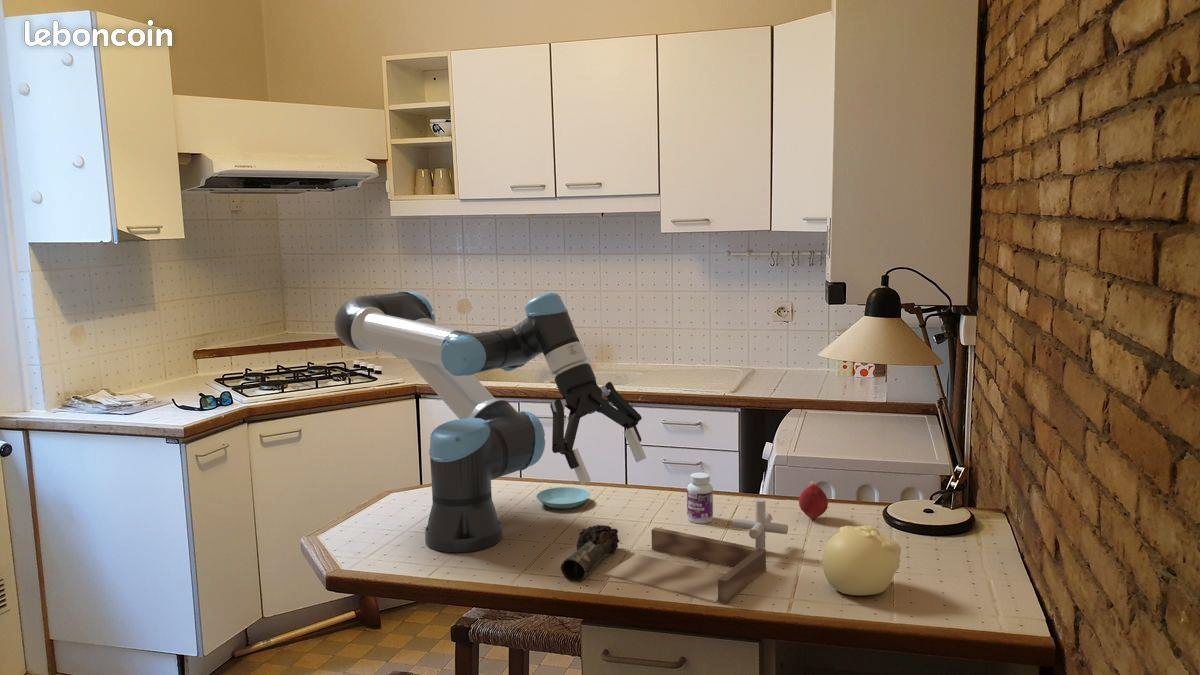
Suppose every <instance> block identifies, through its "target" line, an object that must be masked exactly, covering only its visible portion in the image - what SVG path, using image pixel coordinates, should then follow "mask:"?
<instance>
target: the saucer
mask: <svg viewBox="0 0 1200 675" xmlns="http://www.w3.org/2000/svg"><path fill="white" fill-rule="evenodd" d="M590 496H591V494H590V492H589V491H587V490H586V489H583V488H579V487H571V486H569V487H568V486H565V487H563V486H562V487H561V486H560V487H551V488H547V489H543V490H541V491H539V492H538V493H537V494H536V496H535V497H536V499H537V500H538V501H540V502H541V503H542V504H543V505H545V506H546V507H549V508H551V509H555V508H556V510H569V509H573V507H574V508H576V507H578V506H580V505H582V504H584V502H585V501H587V500H588V499H589V497H590ZM568 508H569V509H568Z"/></svg>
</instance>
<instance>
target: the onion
mask: <svg viewBox="0 0 1200 675" xmlns="http://www.w3.org/2000/svg"><path fill="white" fill-rule="evenodd" d="M798 504H799V506H798V507H799V508H800V510H801V511H802V512H803V513H804V514H805V515H806V516H807V517H808V518H809V519H810V520H815V519H817V518H819V517H820V516H822V515H823V514H825V512H826V511H827V509H828V505H829V501H828V497H827V495H826V493H825V492H824V491H823V489H822V488H821V487H819V486H818V485H817V484H815V482H814V481H810V484H809V486H808V487H806V488H804V489H803V490H802V491H801V493H800V495H799V499H798Z"/></svg>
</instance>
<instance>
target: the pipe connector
mask: <svg viewBox="0 0 1200 675" xmlns="http://www.w3.org/2000/svg"><path fill="white" fill-rule="evenodd" d="M772 519H773V516H772V514H771V513H769V512H766V499H764V498H756V499H755V519H746V518H739V517H738V518H737V517H734V518H733V522H732V523H733V528H735V529H743V530H749V532H748V535H749V537H750V538H751V539H753V540H755V548H759V549H764V550H766V533H773V534H782V535H788V531H789V525H788V524H787V523H786V524H785V523H777V522H771V521H772Z"/></svg>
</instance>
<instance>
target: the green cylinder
mask: <svg viewBox="0 0 1200 675" xmlns="http://www.w3.org/2000/svg"><path fill="white" fill-rule="evenodd" d="M618 533H619V530H618V529H617V528H612V526H609V525H604V524H603V525H602V524H596V525H593V526H588V528H582V529H581V531H579V533H578V540H577V541H576V551H575V552H573V553H572V554H571V555H569V556H568V557H567V558H566V559H564V561H562V563H561V566H560V571H561V573H562V575H563V577H564V578H566V579H567V580H568V581H569V582H576V583H582V582H583V581H584V580H585V578H587V576H588V575H589V574H590V573H591V572H592V570H594V568H595V567H596V566H597V565H598V564H599V563H600V561H601V560H602V559H603V558H604V557H605V556H608V555H612V554H615V553H616V550H617V549H618V548H619V543H620V541H621V540H620V539H619V535H618Z"/></svg>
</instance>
